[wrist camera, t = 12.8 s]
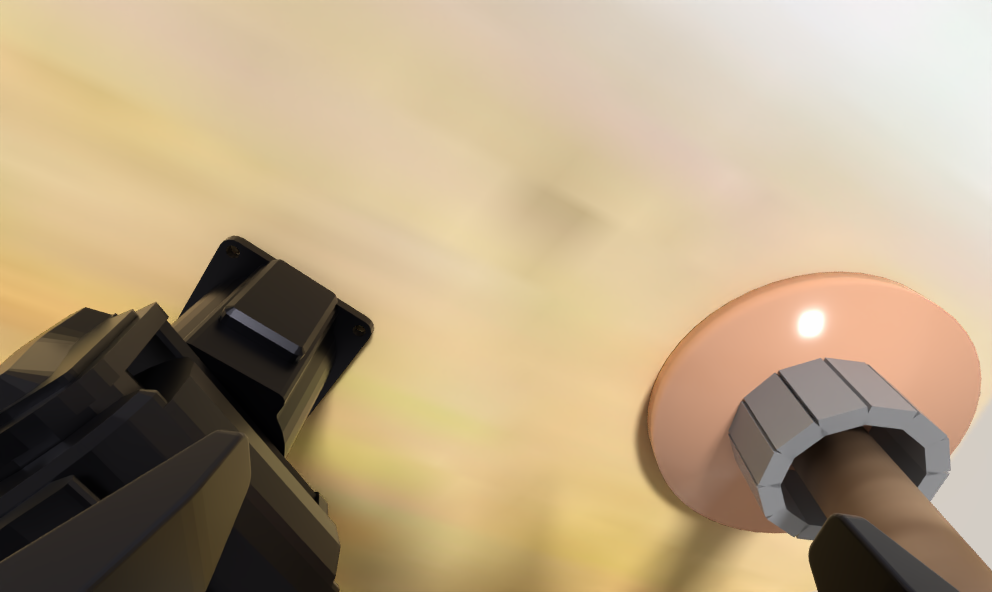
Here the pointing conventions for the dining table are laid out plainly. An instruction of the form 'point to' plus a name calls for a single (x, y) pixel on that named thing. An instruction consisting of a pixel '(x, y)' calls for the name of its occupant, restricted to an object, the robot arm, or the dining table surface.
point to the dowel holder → (808, 394)
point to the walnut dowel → (888, 504)
